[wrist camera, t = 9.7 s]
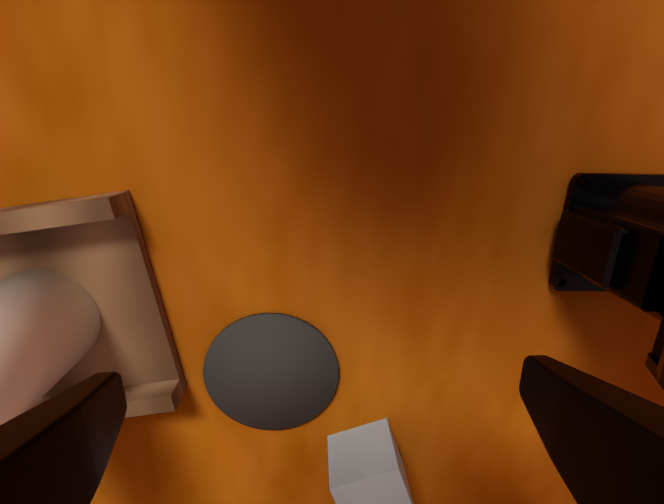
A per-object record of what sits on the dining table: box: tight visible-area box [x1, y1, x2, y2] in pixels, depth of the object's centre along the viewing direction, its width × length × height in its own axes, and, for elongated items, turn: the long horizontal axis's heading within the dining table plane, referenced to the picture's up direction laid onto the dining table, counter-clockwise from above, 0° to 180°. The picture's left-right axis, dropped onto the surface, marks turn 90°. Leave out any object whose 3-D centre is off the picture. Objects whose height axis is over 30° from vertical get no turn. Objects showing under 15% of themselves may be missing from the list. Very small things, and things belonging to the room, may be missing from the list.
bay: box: [0, 190, 187, 418], centre depth 21 cm, size 12×12×2 cm
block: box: [327, 418, 413, 504], centre depth 24 cm, size 4×4×4 cm
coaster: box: [203, 313, 339, 430], centre depth 24 cm, size 8×8×1 cm
